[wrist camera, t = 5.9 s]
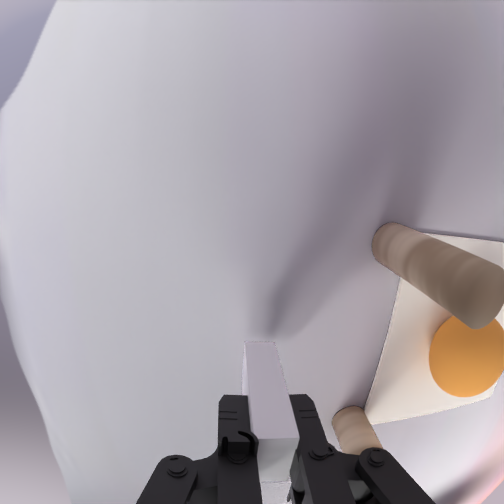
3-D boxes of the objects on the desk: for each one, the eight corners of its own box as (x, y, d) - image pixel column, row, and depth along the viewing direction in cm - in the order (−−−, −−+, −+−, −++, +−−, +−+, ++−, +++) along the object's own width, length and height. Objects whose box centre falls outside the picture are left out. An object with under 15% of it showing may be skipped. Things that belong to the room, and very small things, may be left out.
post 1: (359, 428, 20) (397, 511, 12) (328, 431, 20) (360, 520, 12) (368, 404, 20) (413, 489, 12) (335, 407, 19) (374, 500, 12)
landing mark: (488, 396, 21) (490, 397, 21) (358, 424, 20) (358, 426, 20) (539, 247, 18) (540, 247, 18) (408, 231, 17) (409, 231, 16)
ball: (481, 379, 18) (490, 421, 13) (418, 362, 20) (413, 402, 15) (509, 310, 16) (531, 339, 12) (442, 291, 19) (448, 317, 14)
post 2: (405, 266, 17) (496, 326, 9) (368, 264, 17) (454, 331, 9) (412, 224, 16) (513, 265, 9) (375, 220, 16) (472, 263, 9)
